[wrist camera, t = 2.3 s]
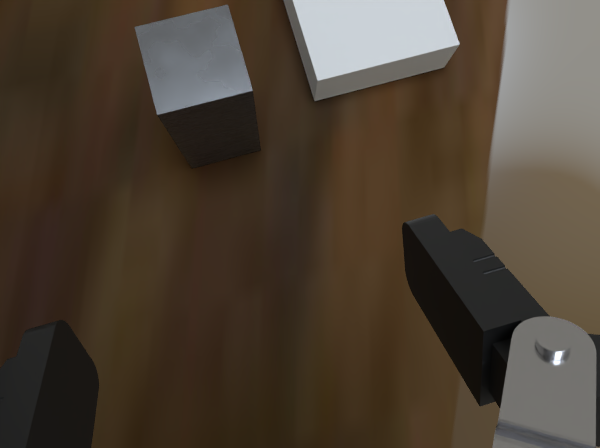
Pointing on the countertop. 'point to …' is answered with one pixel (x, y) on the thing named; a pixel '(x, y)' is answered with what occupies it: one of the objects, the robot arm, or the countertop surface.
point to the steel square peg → (201, 85)
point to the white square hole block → (369, 41)
